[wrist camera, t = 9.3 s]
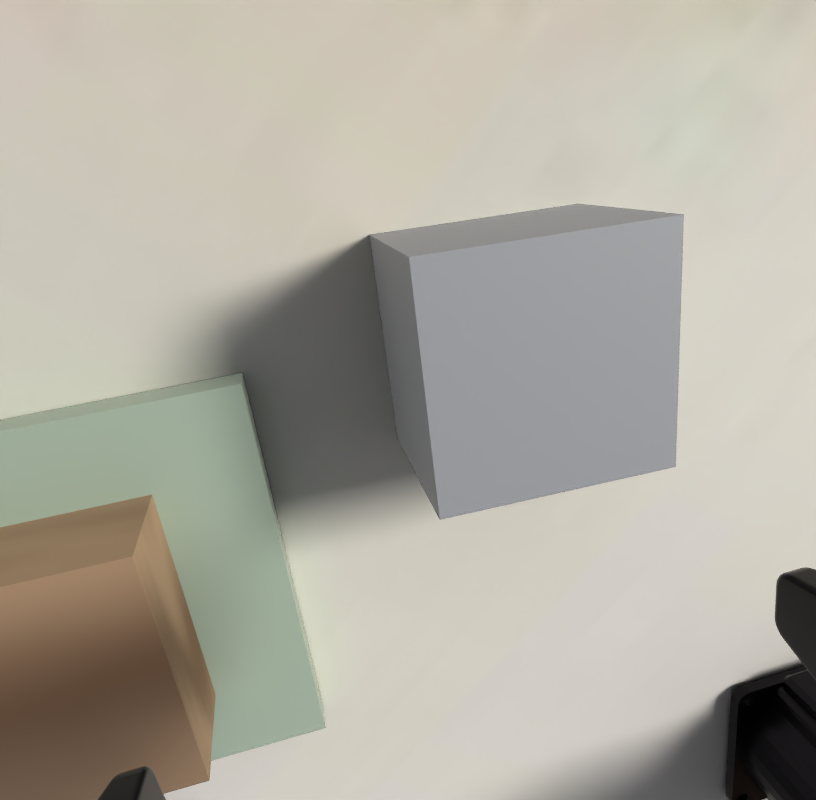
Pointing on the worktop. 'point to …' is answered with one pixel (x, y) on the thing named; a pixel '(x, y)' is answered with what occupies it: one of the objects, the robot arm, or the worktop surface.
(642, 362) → the slate block
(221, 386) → the baseplate
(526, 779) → the worktop surface
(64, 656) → the walnut block
